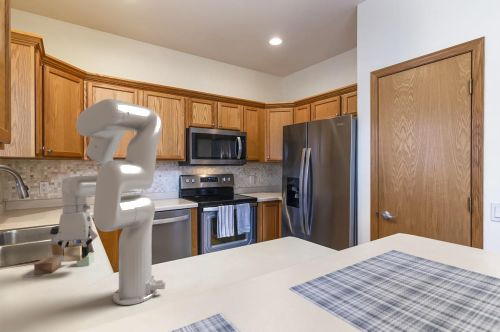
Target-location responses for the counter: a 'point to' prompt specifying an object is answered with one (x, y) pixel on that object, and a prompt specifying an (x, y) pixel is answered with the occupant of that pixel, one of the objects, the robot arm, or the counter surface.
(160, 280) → the robot arm
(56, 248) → the coffee cup
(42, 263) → the walnut block
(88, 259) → the sage block
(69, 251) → the maple block
